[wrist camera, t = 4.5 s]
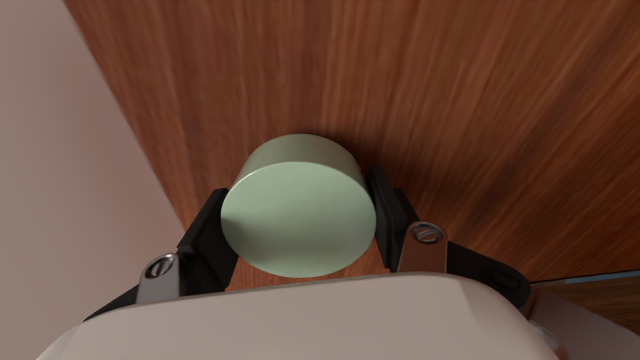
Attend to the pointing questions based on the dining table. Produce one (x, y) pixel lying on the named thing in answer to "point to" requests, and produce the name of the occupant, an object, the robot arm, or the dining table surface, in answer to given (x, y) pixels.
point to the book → (603, 295)
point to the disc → (299, 208)
